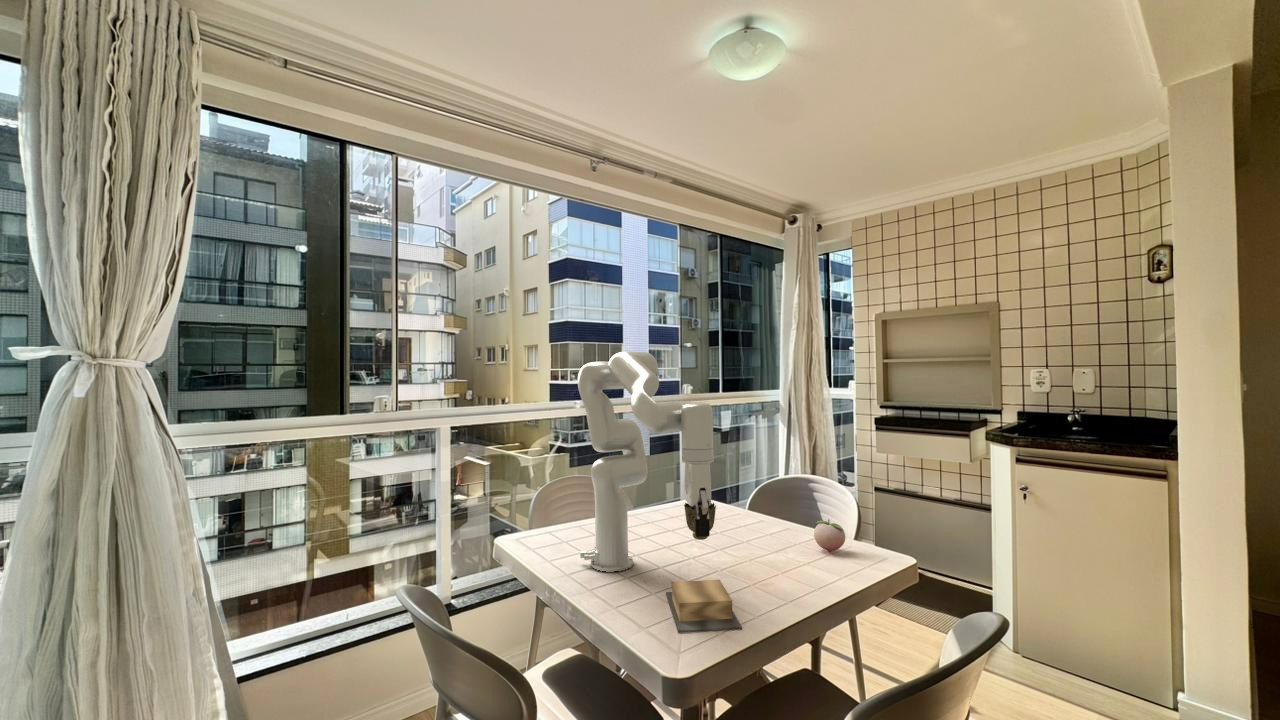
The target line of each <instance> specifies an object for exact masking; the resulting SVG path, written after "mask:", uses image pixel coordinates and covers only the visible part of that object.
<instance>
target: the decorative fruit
mask: <svg viewBox="0 0 1280 720" xmlns="http://www.w3.org/2000/svg"><path fill="white" fill-rule="evenodd" d="M815 525H816V526H815V528H814V530H813V536H814V540H815V542H816V543H817V545H818V546H819V547H820V548H821V549H824V550H825V551H827V552H829V553H831V552H836V551H838V550H840V549H841V548H842V546H844V544H845V542H846V533H845V530H844V529H843V527H842V526H841V525H840V524H839V523H838V524H837V523H830V519H828V521H826V520H819V521H817V522H815Z"/></svg>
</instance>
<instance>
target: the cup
mask: <svg viewBox="0 0 1280 720" xmlns="http://www.w3.org/2000/svg"><path fill="white" fill-rule="evenodd" d="M697 504H698V505H699V503H697ZM716 506H717V504H715V502H711V505H710V506H708V512H709V529H710V531H712V529H713V527H714V524H715V518H716ZM683 507H684V511H685V512H684V513H685V521H686V525H687V528H688V529H689V530H690V531H691V532H692V537H693V539H695V540H700V541H703V540H706V539H708V537H696V535H695V519H697V518H696V508H695V505H694V506H693V507H691V506H690V505H689V504H688V503H687V502H685V503H684V505H683ZM700 509H701V508H699V511H700Z"/></svg>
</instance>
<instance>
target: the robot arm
mask: <svg viewBox="0 0 1280 720" xmlns="http://www.w3.org/2000/svg"><path fill="white" fill-rule="evenodd" d="M658 366H659V365H658V361H657V359H656V357H655V356H654V355H653V354H651V353H650V352H647V351H626V350H625V351H620V352H616V353H615V354H613V355H612V356H611V357H610V358H609V361H602V360H601V361H592V362H591V361H590V362H588V363H586V364H584V365H582V367H581V368H580V369H579V370H578V371H579V372H578V373H577V374H578V376H577V388H578V392H579V395H580V399H581V401H582V403H583V406H584V409H585V414H586V420H587V427H588V432H589V438H590V443H591V446H592V449H594V451H596V452H597V453H611V452H620V451H622V454H617V455H608V456H603V457H600V458H598V459H597V460H595V461H594V462H593V464H592V466H591V470H590V475H591V482H592V486H593V487H592V488H593V491H594V492H593V493H594V515H595V516H594V518H595V519H594V520H595V525H594V528H595V535H594V536H595V546H594V549H591V550H588V551H587V550H581V551H580V559H583V561H590V567H591V566H592V567H593V568H595V569H597V570H596V571H598V570H600V571H599V572H602V571H606V572H605V573H615V572H614V571H619V572H622V571H621V570H623V571H626V570H629V569H630V568H632V567H633V565H634V558H633V557H631V556H630V555H629V531H628V530H629V526H628V520H629V519H628V502H627V500H626V498H625V497H626V496H625V495H624V494H623V493H622V491H621V488H623V489H624V488H626V487H633V486H638V485H641V484H643V483H644V482H645V481H646V479H647V477H648V475H649V474H648V473H649V470H648V463H647V456H646V452H645V446H644V441H643V436H642V432H641V429H640V426H639V425H638V424H637V423H636V422H635V421H634V420H632V419H629V418H623V419H622V418H619V419H617V417H616V414H615V408H614V405H613V403H612V401H611V399H610V398H609V397H608V395H607V394H605V393H604V392H603V391H604V390H626V391H627V392H628V393H629V394H630V395H631V397H630V406H631V411H632V413H633V415H634V417H635V418H636V419H637V421H638V422H639V423H640V424H641V425H642V426H643V427H644V428H645V429H646V430H648V431H650V432H651V433H654V434H667V433H677V432H681V462H682V463H684V481H683V482H684V483H683V484H684V486H683V487H684V490H683V491H684V492H683V494H684V495H683V496H684V500H685V502H686V503H687V504H689V505H690V506H691V507H693V506H694V505H695V508H696V518H697V519H695V535H696V537H707V538H708V537H710V534H711V533H710V532H711V530H710V529H709V512H708V506H710V505H711V503H712V478H711V477H712V476H711V465H710V464H712V463H714V462H715V458H714V457H715V456H714V452H715V451H714V414H713V412H714V411H713V406H712V405H710V404H709V403H706V402H691V401H685V400H684V401H683V400H679V401H675V400H674V401H659V402H657V401H655V400H654V399H653V396H655V394H656V393H657V391H658V389H659V387H660V379H659V378H658V376H657V374H658V372H659V367H658ZM697 503H699V505H698V504H697ZM699 508H701V509H700V511H699ZM592 567H591V568H592ZM593 568H592V569H593ZM628 568H629V569H628ZM595 569H594V570H595ZM625 569H626V570H625Z"/></svg>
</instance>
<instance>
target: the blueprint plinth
mask: <svg viewBox="0 0 1280 720" xmlns="http://www.w3.org/2000/svg"><path fill="white" fill-rule="evenodd" d="M665 595H666V599H667V601H668V602H667V603H668V605H669V608H670V611H671V616H672V618H673V621H674V623H675V627H676V630H677V633H678V634H685V633H700V632H717V631H718V632H719V631H720V632H721V631H732V630H733V631H737V630H743V627H742V624H741V623H740V621H739V619H738V617H737V616H736V614H735V612H734V610H733V599H732V597H731V595H729V592H728V591H727V589H726V587H725V585H724V584H723V583H722V581H721V579H704V580H703V579H702V580H701V579H700V580H685V581H684V580H683V581H671V591H665Z"/></svg>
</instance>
